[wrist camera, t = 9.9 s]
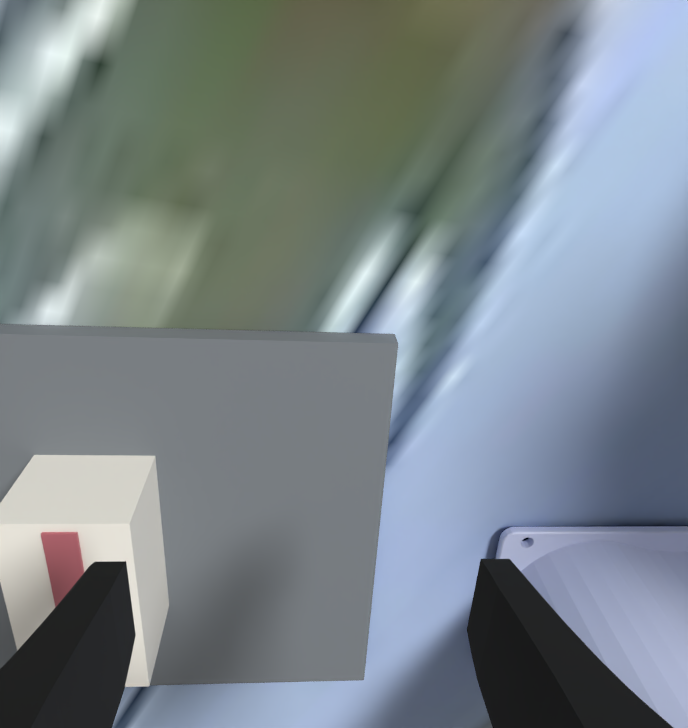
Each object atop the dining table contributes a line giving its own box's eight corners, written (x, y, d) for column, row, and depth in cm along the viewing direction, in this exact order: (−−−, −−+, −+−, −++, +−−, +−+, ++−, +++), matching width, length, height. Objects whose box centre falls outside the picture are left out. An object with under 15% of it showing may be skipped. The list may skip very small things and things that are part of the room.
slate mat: (394, 333, 20) (398, 343, 20) (362, 664, 27) (363, 679, 26) (-250, 317, 19) (-272, 327, 18) (-112, 674, 25) (-124, 691, 25)
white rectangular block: (169, 605, 24) (148, 689, 20) (63, 606, 23) (25, 692, 20) (155, 455, 21) (128, 526, 17) (33, 454, 20) (-17, 526, 17)
